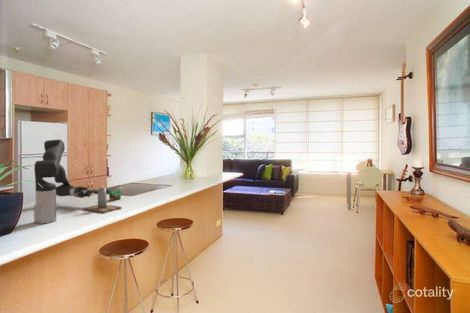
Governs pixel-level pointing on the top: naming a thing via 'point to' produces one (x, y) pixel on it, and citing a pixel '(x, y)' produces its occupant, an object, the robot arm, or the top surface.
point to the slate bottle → (102, 197)
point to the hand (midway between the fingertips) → (95, 193)
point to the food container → (115, 193)
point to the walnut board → (102, 209)
